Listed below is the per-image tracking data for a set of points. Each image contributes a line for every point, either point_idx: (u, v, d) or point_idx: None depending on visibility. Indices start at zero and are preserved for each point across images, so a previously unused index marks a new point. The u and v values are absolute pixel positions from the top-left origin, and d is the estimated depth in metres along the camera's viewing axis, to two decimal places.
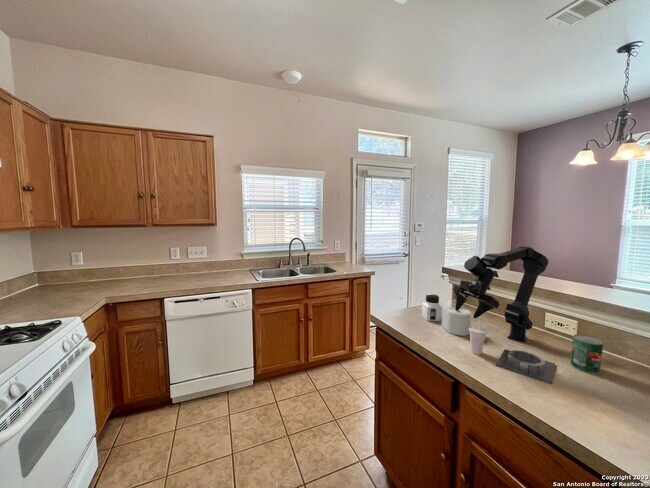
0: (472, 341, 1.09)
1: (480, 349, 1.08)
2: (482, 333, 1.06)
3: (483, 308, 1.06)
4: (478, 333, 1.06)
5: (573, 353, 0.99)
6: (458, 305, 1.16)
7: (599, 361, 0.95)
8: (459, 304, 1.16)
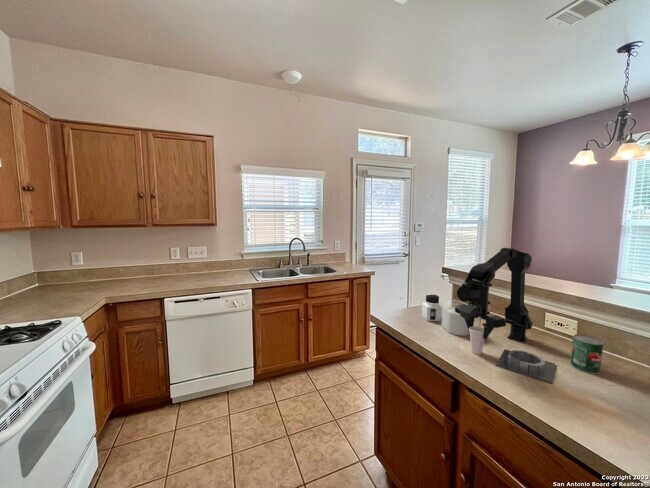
0: (472, 341, 1.09)
1: (480, 349, 1.08)
2: (482, 333, 1.06)
3: (489, 327, 1.04)
4: (478, 333, 1.06)
5: (573, 353, 0.99)
6: None
7: (599, 361, 0.95)
8: (470, 325, 1.12)
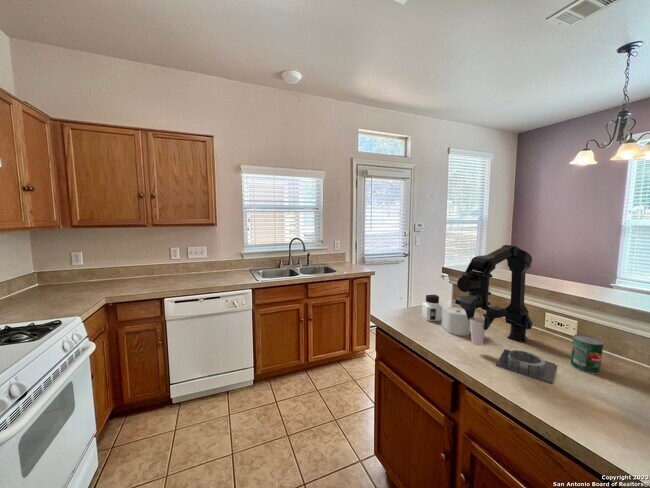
0: (472, 332, 1.08)
1: (481, 340, 1.07)
2: (483, 324, 1.05)
3: (490, 318, 1.04)
4: (478, 324, 1.06)
5: (573, 353, 0.99)
6: None
7: (599, 361, 0.95)
8: (471, 316, 1.11)
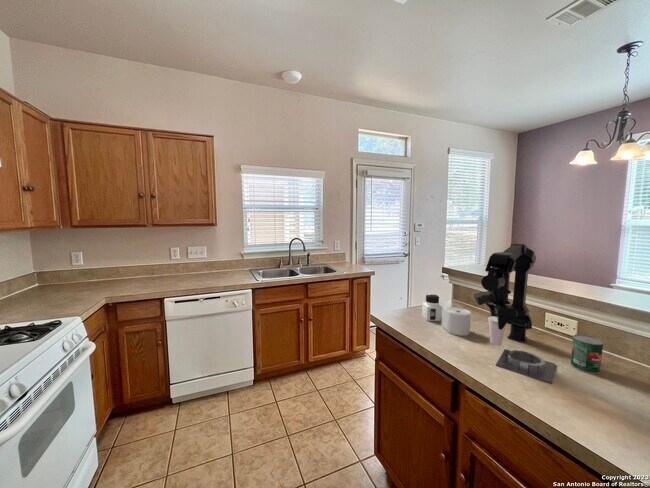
0: None
1: (496, 339, 1.03)
2: (497, 322, 1.02)
3: (504, 317, 1.00)
4: (492, 321, 1.03)
5: (573, 353, 0.99)
6: None
7: (599, 361, 0.95)
8: (494, 315, 1.08)
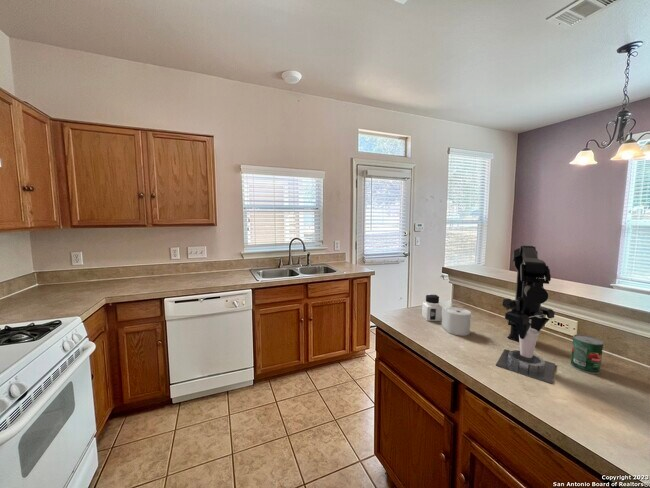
0: None
1: (522, 349, 0.99)
2: None
3: (522, 326, 0.97)
4: None
5: (573, 353, 0.99)
6: None
7: (599, 361, 0.95)
8: (534, 328, 1.00)
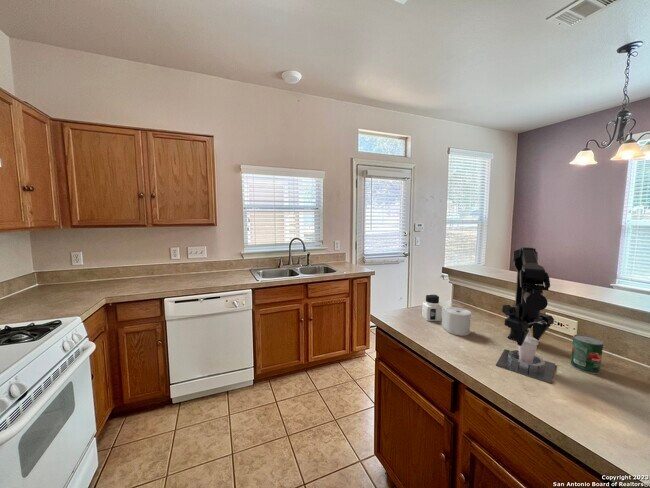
0: None
1: (521, 358, 1.00)
2: None
3: (519, 333, 0.96)
4: None
5: (573, 353, 0.99)
6: (534, 335, 1.01)
7: (599, 361, 0.95)
8: (535, 333, 1.01)
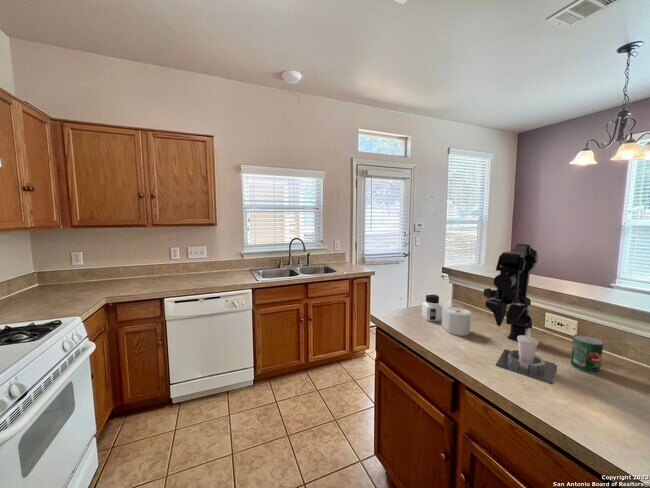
0: None
1: (521, 358, 1.00)
2: (519, 339, 0.99)
3: (498, 314, 1.03)
4: (517, 338, 1.01)
5: (573, 353, 0.99)
6: (513, 316, 1.08)
7: (599, 361, 0.95)
8: (514, 315, 1.08)
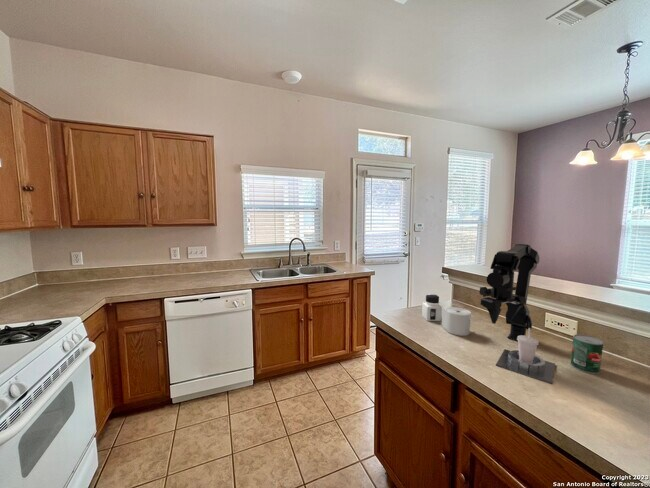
0: None
1: (521, 358, 1.00)
2: (519, 339, 0.99)
3: (493, 311, 1.05)
4: (517, 338, 1.01)
5: (573, 353, 0.99)
6: (509, 314, 1.10)
7: (599, 361, 0.95)
8: (510, 313, 1.10)
